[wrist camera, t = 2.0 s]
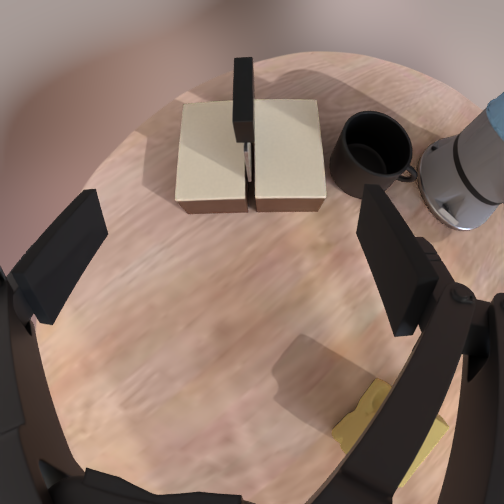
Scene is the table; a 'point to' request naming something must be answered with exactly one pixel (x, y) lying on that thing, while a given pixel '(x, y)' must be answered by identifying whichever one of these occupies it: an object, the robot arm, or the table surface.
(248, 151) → the dough scraper
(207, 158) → the split beige slab
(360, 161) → the mug
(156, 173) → the table surface
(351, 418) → the cheese
